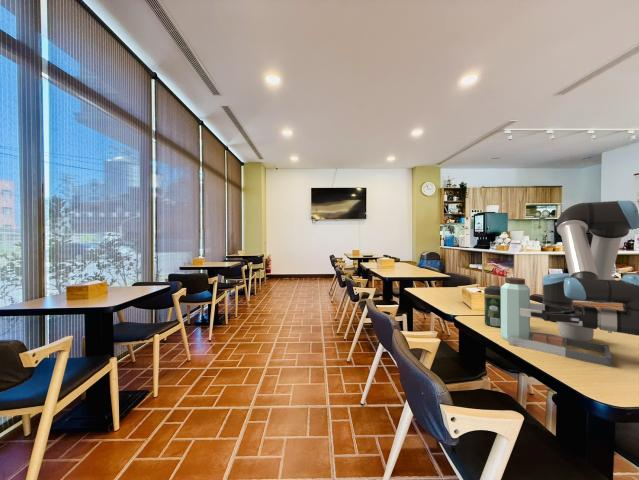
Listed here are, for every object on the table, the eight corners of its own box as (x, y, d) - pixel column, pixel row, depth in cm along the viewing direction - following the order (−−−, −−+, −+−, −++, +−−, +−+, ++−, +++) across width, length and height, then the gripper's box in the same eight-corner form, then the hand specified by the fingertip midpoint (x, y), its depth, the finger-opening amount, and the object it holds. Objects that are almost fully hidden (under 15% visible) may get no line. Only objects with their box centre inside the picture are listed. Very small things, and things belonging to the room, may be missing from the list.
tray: (608, 352, 100) (608, 345, 100) (612, 366, 88) (612, 359, 88) (566, 344, 107) (566, 337, 107) (565, 356, 96) (565, 349, 96)
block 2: (563, 348, 104) (563, 337, 104) (562, 351, 101) (562, 340, 101) (549, 345, 107) (549, 334, 107) (548, 348, 104) (548, 337, 104)
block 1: (546, 345, 107) (546, 335, 107) (546, 348, 104) (546, 337, 104) (533, 342, 109) (533, 332, 109) (533, 345, 106) (533, 335, 106)
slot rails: (566, 344, 107) (566, 336, 107) (565, 356, 96) (565, 347, 96) (515, 334, 118) (515, 327, 118) (508, 344, 108) (508, 336, 108)
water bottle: (495, 337, 115) (494, 277, 115) (510, 334, 119) (510, 276, 119) (520, 346, 106) (520, 281, 106) (536, 342, 110) (536, 279, 110)
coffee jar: (486, 320, 139) (485, 284, 139) (504, 323, 134) (504, 285, 134) (482, 325, 131) (482, 286, 131) (502, 328, 126) (502, 288, 126)
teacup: (601, 346, 106) (601, 325, 106) (568, 344, 108) (568, 323, 108) (575, 334, 119) (575, 315, 119) (547, 332, 121) (546, 314, 121)
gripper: (600, 338, 87) (517, 325, 101) (595, 321, 105) (526, 311, 119) (600, 315, 87) (517, 304, 101) (595, 301, 105) (526, 294, 119)
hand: (522, 308), depth 110 cm, fingers open, 13 cm apart
